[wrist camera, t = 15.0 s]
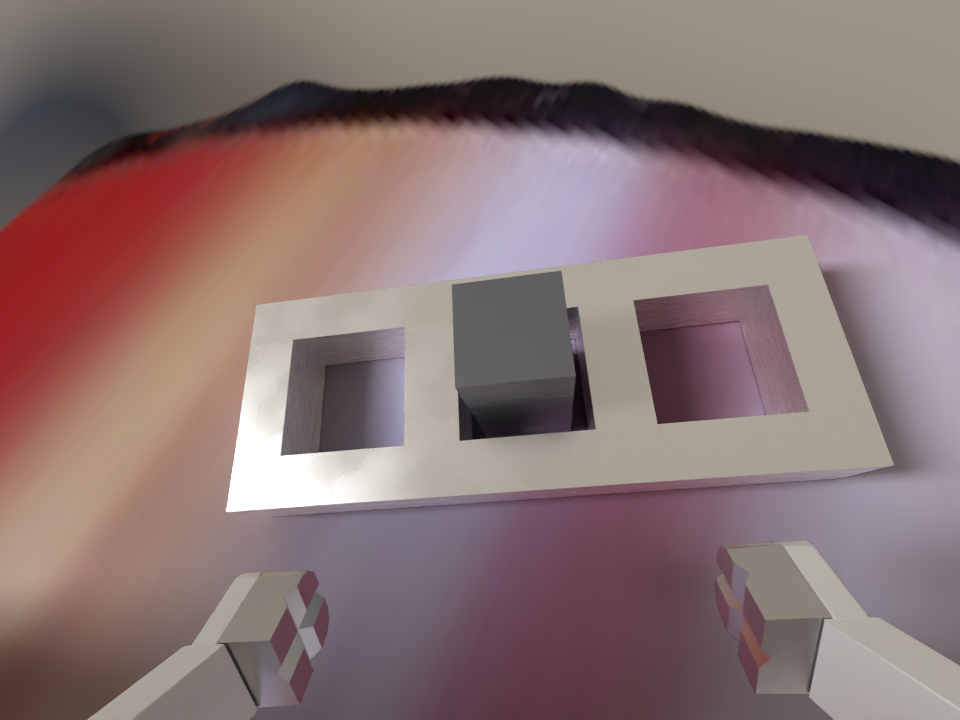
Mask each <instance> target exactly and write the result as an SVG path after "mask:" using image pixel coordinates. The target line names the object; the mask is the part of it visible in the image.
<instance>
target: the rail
mask: <svg viewBox="0 0 960 720" xmlns="http://www.w3.org/2000/svg"><path fill="white" fill-rule="evenodd" d="M554 271H562V278H563V285H564V293H565V300H566V307H567V315H568V322H569V330H570V337H571V339H576V345H577V352H578V360H579V367H580V374H581V381H582V388H583V395H584V403H585V410H586V417H587V424H588V430H583V431H571V432H559V433H547V434H535V435H523V436H512V437H500V438H488V439H476V440H473V435H472V413H471V411H470V410H469V408H468V407H467V405H466V404H465V402H464V401H463V399H462V398H461V396H460V395H459V393H458V392H457V390H456V388H455V372H454V341H453V310H452V284H459V283H467V282H475V281H483V280H491V279H499V278H507V277H515V276H522V275H530V274H538V273H546V272H554ZM733 321H739V322H740V325H741V329H742V332H743V336H744V339H745V343H746V346H747V350H748V353H749V357H750V360H751V364H752V367H753V371H754V374H755V377H756V381H757V384H758V388H759V391H760V395H761V398H762V402H763V405H764V409H765V412H766V415H761V416H749V417H737V418H726V419H714V420H702V421H690V422H678V423H666V424H657V419H656V414H655V409H654V403H653V398H652V393H651V388H650V383H649V378H648V373H647V368H646V363H645V358H644V353H643V348H642V342H641V337H640V332H641V331H650V330H659V329H669V328H678V327H687V326H696V325H706V324H715V323H724V322H733ZM400 357H405V391H404V446H393V447H381V448H369V449H357V450H345V451H333V452H321V453H319V447H320V434H321V421H322V408H323V396H324V383H325V370H326V365H335V364H345V363H354V362H363V361H372V360H382V359H391V358H400ZM893 465H894V464H893V461H892V458H891V456H890V453H889V450H888V448H887V445H886V442H885V440H884V437H883V434H882V432H881V429H880V426H879V424H878V421H877V419H876V416H875V413H874V411H873V408H872V405H871V403H870V400H869V397H868V395H867V392H866V389H865V387H864V384H863V381H862V379H861V376H860V373H859V371H858V368H857V365H856V363H855V360H854V358H853V355H852V352H851V350H850V347H849V344H848V342H847V339H846V336H845V334H844V331H843V328H842V326H841V323H840V320H839V318H838V315H837V312H836V310H835V307H834V304H833V302H832V299H831V297H830V294H829V291H828V289H827V286H826V283H825V281H824V278H823V275H822V273H821V270H820V267H819V265H818V262H817V259H816V257H815V254H814V251H813V249H812V246H811V244H810V241H809V238H808V236H807V235H804V236H796V237H788V238H780V239H772V240H764V241H756V242H749V243H741V244H733V245H725V246H717V247H709V248H701V249H694V250H686V251H678V252H670V253H662V254H654V255H646V256H638V257H631V258H623V259H615V260H607V261H599V262H591V263H583V264H576V265H568V266H560V267H552V268H544V269H536V270H528V271H521V272H513V273H505V274H497V275H489V276H481V277H473V278H465V279H458V280H450V281H442V282H434V283H426V284H418V285H410V286H403V287H395V288H387V289H379V290H371V291H363V292H355V293H347V294H340V295H332V296H324V297H316V298H308V299H300V300H292V301H285V302H277V303H269V304H261V305H256V312H255V319H254V326H253V333H252V340H251V347H250V354H249V361H248V367H247V374H246V381H245V388H244V395H243V402H242V409H241V416H240V422H239V429H238V436H237V443H236V450H235V457H234V464H233V471H232V477H231V484H230V491H229V498H228V505H227V512H234V513H243V514H253V515H262V516H271V517H274V516H289V515H304V514H319V513H334V512H349V511H364V510H378V509H393V508H408V507H423V506H438V505H453V504H468V503H482V502H497V501H512V500H527V499H542V498H557V497H572V496H586V495H601V494H616V493H631V492H646V491H661V490H676V489H690V488H705V487H720V486H735V485H750V484H765V483H780V482H794V481H809V480H824V479H839V478H844V477H848V476H852V475H856V474H860V473H865V472H869V471H873V470H877V469H881V468H885V467H889V466H893Z"/></svg>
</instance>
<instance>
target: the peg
mask: <svg viewBox="0 0 960 720" xmlns="http://www.w3.org/2000/svg"><path fill="white" fill-rule="evenodd" d="M452 310H453V341H454V372H455V388H456V390H457V392H458V393H459V395H460V396H461V398H462V399H463V401H464V402H465V404H466V405H467V407H468V408H469V410H470V411H471V413H472V414H473V416H474V417H475V419H476V421H477V422H478V424H479V425H480V427H481V428H482V430H483V431H484V433H485V434H486V436H487V437H488V438H498V437H510V436H521V435H533V434H545V433H557V432H569V431H571V421H572V410H573V399H574V389H575V378H576V374H575V367H574V359H573V352H572V344H571V337H570V330H569V322H568V315H567V307H566V300H565V293H564V285H563V278H562V271H554V272H546V273H538V274H530V275H522V276H515V277H507V278H499V279H491V280H483V281H475V282H467V283H459V284H452Z"/></svg>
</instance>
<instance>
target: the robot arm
mask: <svg viewBox="0 0 960 720" xmlns="http://www.w3.org/2000/svg"><path fill="white" fill-rule="evenodd" d="M717 562H718V564H719V566H720V568H721V570H722V573H721V574H720V575H719V576H718V577H717V578H716V583H715V593H716V599H717V605H718V609H719V612H720V615H721V618H722V621H723V623H724V625H725V628H726V630H727V632H728V633H729V634H730V635H732V636H733V637H734V638H735V639H737V640H738V641H739V653H738V656H739V659H740V661H741V663H742V665H743V667H744V669H745V672H746V674H747V676H748V678H749V680H750V682H751V685H752V687H753V689H754V691H755V693H756V694H809V697H810V698H811V699H812V700H813V701H814V702H815V703H816V704H817V705H818V706H819V707H820V708H822V709H823V710H824V711H825V712H826V713H827V714H828V715H829V716H830V717H831V718H832V719H833V720H960V665H958V664H956V663H955V662H953V661H951V660H950V659H948V658H946V657H945V656H943V655H941V654H940V653H938V652H936V651H935V650H933V649H931V648H930V647H928V646H926V645H925V644H923V643H921V642H920V641H918V640H916V639H915V638H913V637H911V636H910V635H908V634H906V633H904V632H903V631H901V630H899V629H898V628H896V627H894V626H893V625H891V624H889V623H888V622H886V621H884V620H883V619H881V618H879V617H869V616H868V615H867V614H866V613H865V611H864V610H863V609H862V607H861V606H860V605H859V604H858V602H857V601H856V600H855V599H854V597H853V596H852V595H851V593H850V592H849V591H848V590H847V588H846V587H845V586H844V585H843V583H842V582H841V581H840V579H839V578H838V577H837V576H836V574H835V573H834V572H833V571H832V569H831V568H830V567H829V565H828V564H827V563H826V562H825V560H824V559H823V558H822V557H821V555H820V554H819V553H818V551H817V550H816V549H815V548H814V546H813V545H812V544H811V543H809V542H808V541H806V540H799V541H784V542H776V543H774V542H768V543H754V544H739V545H725V546H720V548H719V549H718V554H717ZM318 584H319V582H318V580H317V578H316V575H315V573H314V572H313V571H280V572H262V573H243V574H241V575H240V576H238V577H237V578H236V579H235V580H234V581H233V583H232V584H231V586H230V587H229V589H228V590H227V592H226V594H225V595H224V597H223V598H222V600H221V601H220V603H219V604H218V606H217V607H216V609H215V610H214V612H213V613H212V615H211V616H210V618H209V619H208V621H207V622H206V624H205V625H204V627H203V628H202V630H201V631H200V633H199V634H198V636H197V638H196V639H195V641H194V642H193V644H192V645H188V646H183V647H182V648H181V649H179V650H178V651H177V652H175V653H174V654H173V655H171V656H170V657H169V658H168V659H166V660H165V661H164V662H162V663H161V664H160V665H158V666H157V667H156V668H154V669H153V670H152V671H150V672H149V673H148V674H147V675H145V676H144V677H143V678H141V679H140V680H139V681H137V682H136V683H135V684H133V685H132V686H131V687H129V688H128V689H127V690H125V691H124V692H123V693H122V694H120V695H119V696H118V697H116V698H115V699H114V700H112V701H111V702H110V703H108V704H107V705H106V706H104V707H103V708H102V709H101V710H99V711H98V712H97V713H95V714H94V715H93V716H91V717H90V718H89V719H87V720H250V719H251V718H252V717H253V716H254V714H255V713H256V712H257V711H258V709H257V708H260V707H277V706H294V705H300V703H301V700H302V698H303V695H304V693H305V690H306V688H307V685H308V682H309V680H310V677H311V675H312V672H313V667H312V664H311V660H310V659H311V658H312V657H313V656H314V655H315V654H316V653H317V652H318V651H319V650H320V649H321V648H322V646H323V643H324V641H325V638H326V635H327V630H328V622H329V614H328V606H327V604H326V601H325V598H323V597H322V596H321V595H319V594H318V593H317V592H315V591H316V589H317V586H318Z"/></svg>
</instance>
